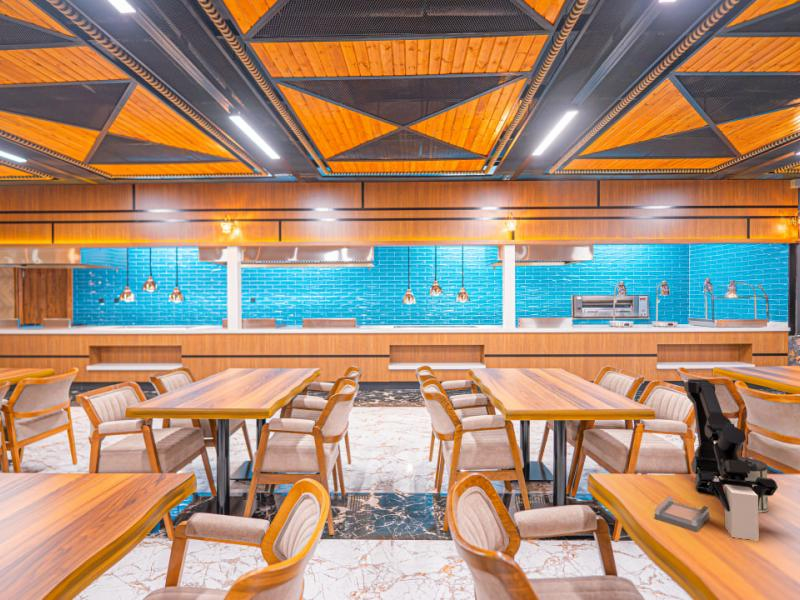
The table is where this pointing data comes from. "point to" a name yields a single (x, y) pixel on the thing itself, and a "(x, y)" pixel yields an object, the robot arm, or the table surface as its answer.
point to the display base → (681, 514)
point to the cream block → (742, 512)
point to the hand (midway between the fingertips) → (742, 512)
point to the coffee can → (752, 477)
